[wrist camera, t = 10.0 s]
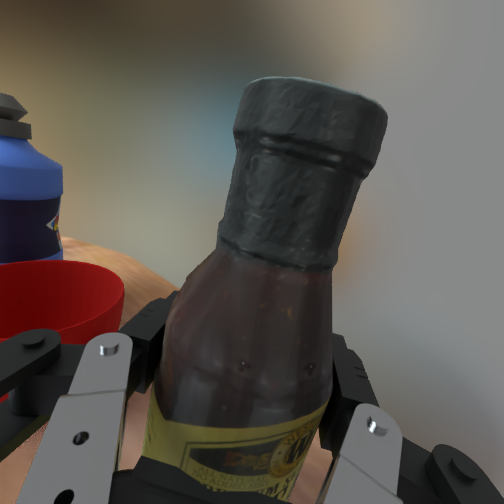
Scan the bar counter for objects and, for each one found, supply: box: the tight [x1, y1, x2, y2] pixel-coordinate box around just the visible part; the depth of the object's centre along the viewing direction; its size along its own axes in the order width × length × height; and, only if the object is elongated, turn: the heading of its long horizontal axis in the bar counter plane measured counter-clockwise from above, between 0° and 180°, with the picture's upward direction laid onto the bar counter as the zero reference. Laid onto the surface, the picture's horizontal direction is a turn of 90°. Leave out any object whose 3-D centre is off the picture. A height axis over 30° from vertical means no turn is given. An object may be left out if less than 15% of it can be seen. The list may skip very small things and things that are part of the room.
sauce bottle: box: [142, 76, 388, 502], centre depth 10 cm, size 7×6×20 cm
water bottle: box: [0, 93, 63, 265], centre depth 29 cm, size 9×9×25 cm
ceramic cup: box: [0, 260, 124, 403], centre depth 23 cm, size 13×17×10 cm
